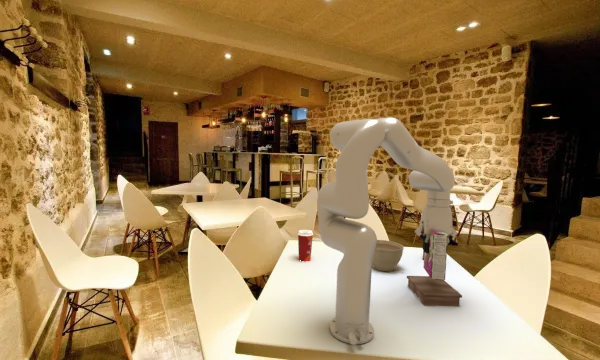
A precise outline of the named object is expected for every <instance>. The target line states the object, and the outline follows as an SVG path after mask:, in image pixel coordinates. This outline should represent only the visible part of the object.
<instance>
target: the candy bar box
mask: <svg viewBox="0 0 600 360" xmlns="http://www.w3.org/2000/svg"><path fill="white" fill-rule="evenodd" d="M447 240H448V235H447V234H446V233H445V232H431V235H430V239H429V241H428V242H429V243H430V247H429V254H427V253H425V252H424V260H423V269H424V270H425V272H426V273H427V274H428V275H427V276H430V278H431V279H434V280H444V281H446V274H447V273H446V272H447V269H446V268H447V255H448V253H447V252H448V245H447Z"/></svg>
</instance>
